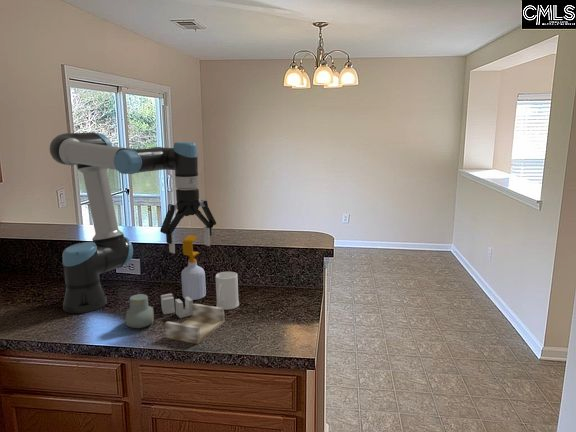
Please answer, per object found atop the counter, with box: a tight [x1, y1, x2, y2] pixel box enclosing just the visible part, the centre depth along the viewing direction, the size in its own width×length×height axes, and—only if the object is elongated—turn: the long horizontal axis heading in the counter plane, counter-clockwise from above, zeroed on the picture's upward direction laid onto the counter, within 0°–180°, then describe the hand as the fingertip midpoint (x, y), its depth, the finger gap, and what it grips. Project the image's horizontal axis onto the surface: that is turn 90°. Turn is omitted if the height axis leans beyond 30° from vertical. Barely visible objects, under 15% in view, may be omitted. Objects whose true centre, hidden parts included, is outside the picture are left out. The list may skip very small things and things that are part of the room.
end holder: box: [164, 302, 226, 345], centre depth 144 cm, size 12×17×5 cm
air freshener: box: [125, 293, 155, 329], centre depth 147 cm, size 11×8×10 cm
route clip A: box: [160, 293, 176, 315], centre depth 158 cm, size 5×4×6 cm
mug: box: [215, 271, 240, 311], centre depth 161 cm, size 12×8×12 cm
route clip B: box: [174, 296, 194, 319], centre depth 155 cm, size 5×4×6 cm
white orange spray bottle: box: [180, 234, 207, 301], centre depth 170 cm, size 9×9×25 cm
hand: (190, 248), depth 151 cm, fingers open, 13 cm apart
